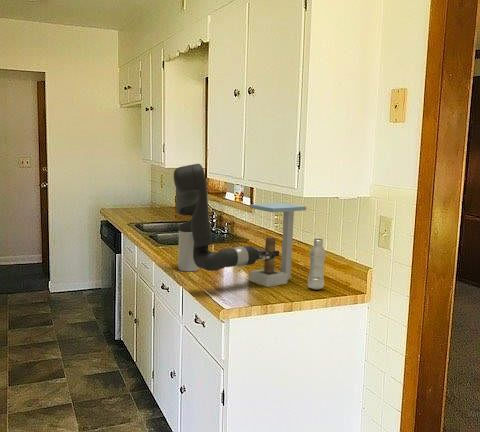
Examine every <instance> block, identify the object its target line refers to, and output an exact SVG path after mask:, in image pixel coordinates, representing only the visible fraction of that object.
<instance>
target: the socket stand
mask: <svg viewBox="0 0 480 432" xmlns="http://www.w3.org/2000/svg"><path fill="white" fill-rule="evenodd" d="M249 206H250V209H251V210H252V209H253V210H258V211H263V212H269V213H282V212H283V219H282V220H283V221H282V222H283V223H282V238H281V239H282V241H281V243H282V244H281V259H280V260H281V261H280V263H281V264H280V270H277V269H274V273H265V272H264V268H262V269H257V270H250V271H249V281H250V282H252V283H255V284H258V285H260V286H262V287H263V286H264V287H266V288H268V287H269V288H270V287H274V286H279V285H286V284H288V281H289V279H290V280H292V279H291V276H292V261H293V260H292V255H293V237H294V222H295V221H294V216H295V212H300V211H302V212H304V211H307V206H306V205H298V204H293V203H287V202H274V203H273V202H272V203H254V204H253V203H252V204H250V205H249Z"/></svg>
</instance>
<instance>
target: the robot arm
mask: <svg viewBox="0 0 480 432" xmlns="http://www.w3.org/2000/svg"><path fill="white" fill-rule="evenodd" d="M173 182H174V187H175V198H176V202H175V209H176V212H177V214H179V215H181V216H191V219H189V220H186V221H184V222H181V223H179V225H178V250H177V252H178V254H177V255H178V256H177V257H178V258H177V259H178V260H177V262H178V263H177V269H178V270H179V271H181V272H195V271H199V270H200V269H203V270H205V271H208V272H209V271H210V272H214V271H215V272H216V271H219V270H222V269H224V268H232V267H244V266H251V265H254V264H255V263H256V262H257V261H262V260H264V261H265V260H266V261H268V260H271V259H274V257H279V256H280V251H279V250H275V251H266V250H265V248H259V247H256V248H255V247H253V246H252V245H245V246H243V245H242V246H235V247H230V248H221V249H220V250H219V251H211V250H210V249H209V246H210V245H211V244H212V243H213V233H212V230H211V223H210V218H209V202H208V201H209V200H208V199H209V198H208V189H207V188H208V187H207V179H206V173H205V171H204V168H203V166H202V164H201V163H193V164H189V165H183V166H179V167H177V168H175V169H174V172H173ZM274 260H275V259H274Z"/></svg>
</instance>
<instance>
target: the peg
mask: <svg viewBox="0 0 480 432" xmlns="http://www.w3.org/2000/svg"><path fill="white" fill-rule="evenodd" d="M276 240H277V239H276V238H275V237H265V245H264V246H265V247H264V249H265V250H266V251H276ZM263 265H264V266H263V267H264V268H263V269H264V272H265V273H274V270H275V257H274V259H271V260H268V261H266V260H265V259H264V263H263Z"/></svg>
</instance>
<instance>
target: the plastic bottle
mask: <svg viewBox="0 0 480 432" xmlns="http://www.w3.org/2000/svg"><path fill="white" fill-rule="evenodd" d="M312 243H313V246H312V247H311V248H310V249H309V265H310V266H309V273H308V278H307V286H308V288H309V289H311V290H322V289H323V288H324V284H325V277H324V269H325V267H324V266H325V260H326V254H327V252H326V250H325V247H324V239H323V238H313V242H312Z"/></svg>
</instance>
